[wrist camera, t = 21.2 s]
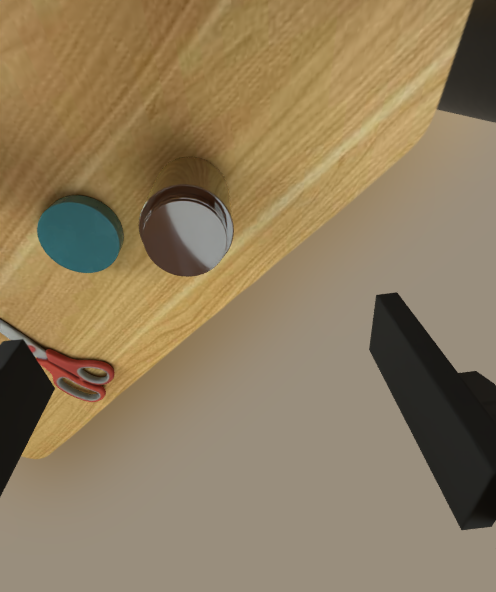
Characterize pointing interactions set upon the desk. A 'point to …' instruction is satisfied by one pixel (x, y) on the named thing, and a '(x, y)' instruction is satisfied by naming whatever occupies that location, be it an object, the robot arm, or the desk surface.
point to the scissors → (66, 368)
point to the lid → (80, 234)
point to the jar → (187, 218)
